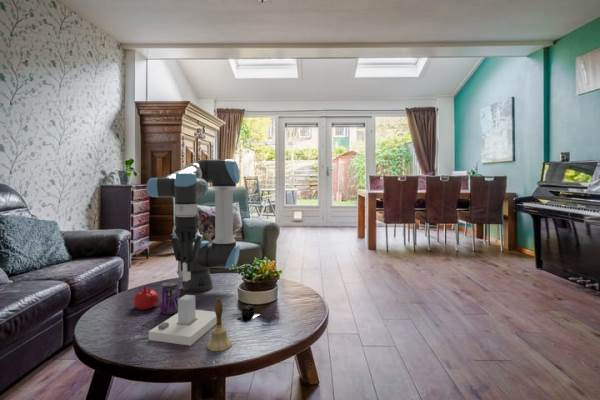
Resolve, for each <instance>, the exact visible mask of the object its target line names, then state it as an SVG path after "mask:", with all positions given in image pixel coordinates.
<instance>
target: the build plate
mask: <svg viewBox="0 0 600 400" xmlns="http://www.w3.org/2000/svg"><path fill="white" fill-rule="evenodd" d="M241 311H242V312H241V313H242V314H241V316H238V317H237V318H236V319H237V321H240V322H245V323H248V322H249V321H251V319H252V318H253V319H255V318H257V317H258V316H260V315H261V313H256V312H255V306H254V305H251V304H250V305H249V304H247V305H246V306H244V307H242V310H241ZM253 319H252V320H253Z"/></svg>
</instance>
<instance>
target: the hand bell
mask: <svg viewBox="0 0 600 400" xmlns="http://www.w3.org/2000/svg"><path fill="white" fill-rule="evenodd" d="M223 309H224V306H223V302H222V299H221V297H217V298H216V302H215V303H214V312H215V313H216V317H217V323H216V325H215V326H216V327H215V328H213V329H212V332H211V337H210V340H209V341H208V343H207V344H206V349H207V350H209V351H211V352H222V351H225V350H229V349H230V348H231V347H232V346H233V342H232V340H231V339H229V336H228V335H227V329H226V328H225V327H223V323H222V315H223V311H224V310H223Z"/></svg>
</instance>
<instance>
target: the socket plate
mask: <svg viewBox="0 0 600 400" xmlns="http://www.w3.org/2000/svg"><path fill="white" fill-rule="evenodd" d="M195 314H196V321H195V322H193V323H192V324H191V325H189V326H188V325H180V324H178V312H176V313H174V315H172V316H170V317H169V318H167V319H166V320H165V321H162V322H161V323H160V324H157V326H156V325H155V327H152V329H150V330H149V331H148V340H149V341H154V342H155V341H156V342H160V343H169V344H176V345H182V346H183V345H184V346H189V347H191V346H192V345H193V344H194V343H196V342H197V341H198V340H199V339H200V338H201V337H203V336H205V334H206V333H207V332H209V331H210V330H211V329H212V328H213V327H214V326H217V325H216V323H217V317H216V313H215V311H211V310H210V311H209V310H202V309H195Z"/></svg>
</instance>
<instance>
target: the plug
mask: <svg viewBox="0 0 600 400" xmlns="http://www.w3.org/2000/svg"><path fill="white" fill-rule="evenodd" d="M195 310H196V295H194V294H193V295H192V294H185V295H183V296H181V297H179V299H178V311H177V313H178V324H180V325H188V326H189V325H191V324H192V323H193V322H195V321H196V314H195Z"/></svg>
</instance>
